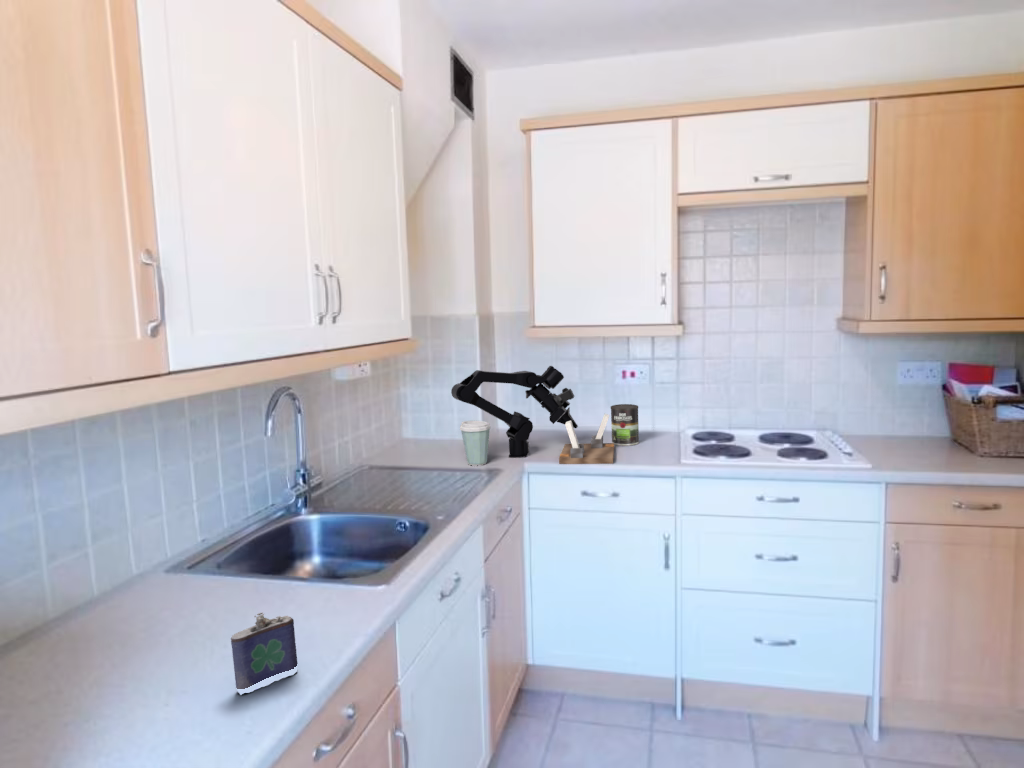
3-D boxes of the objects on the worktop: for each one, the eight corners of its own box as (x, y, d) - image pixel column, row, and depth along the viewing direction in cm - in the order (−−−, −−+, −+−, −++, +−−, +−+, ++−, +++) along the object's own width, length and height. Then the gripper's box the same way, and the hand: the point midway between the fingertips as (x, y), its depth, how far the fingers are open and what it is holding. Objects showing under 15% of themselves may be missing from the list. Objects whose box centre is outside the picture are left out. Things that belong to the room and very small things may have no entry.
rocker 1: (574, 456, 221) (564, 424, 220) (575, 454, 225) (565, 422, 224) (581, 455, 221) (571, 422, 220) (582, 452, 225) (572, 420, 224)
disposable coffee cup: (488, 458, 233) (485, 417, 231) (496, 465, 223) (494, 422, 221) (459, 462, 230) (456, 420, 228) (466, 469, 220) (463, 425, 218)
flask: (239, 698, 95) (231, 628, 94) (233, 689, 98) (225, 622, 96) (301, 673, 101) (294, 607, 100) (294, 666, 103) (287, 601, 102)
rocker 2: (592, 445, 234) (603, 414, 232) (593, 442, 238) (603, 413, 236) (598, 447, 234) (609, 417, 232) (599, 444, 238) (610, 415, 235)
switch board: (559, 464, 221) (558, 449, 220) (565, 449, 242) (564, 435, 241) (613, 463, 217) (612, 448, 217) (614, 448, 239) (613, 435, 238)
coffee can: (637, 446, 240) (636, 408, 239) (609, 445, 244) (608, 408, 242) (641, 440, 250) (640, 403, 248) (614, 439, 253) (613, 403, 252)
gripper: (557, 385, 226) (590, 416, 225) (563, 378, 244) (593, 407, 243) (535, 408, 228) (568, 438, 228) (543, 399, 246) (573, 428, 246)
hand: (576, 427), depth 236 cm, fingers closed
